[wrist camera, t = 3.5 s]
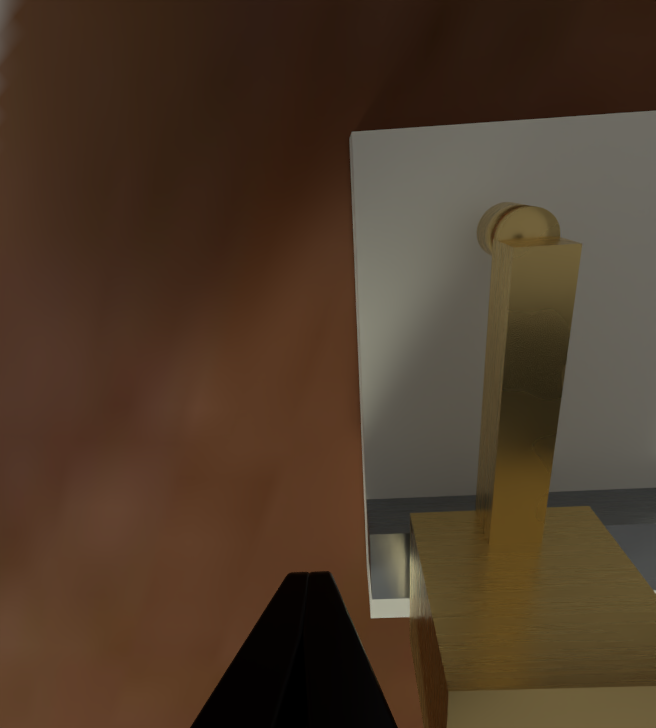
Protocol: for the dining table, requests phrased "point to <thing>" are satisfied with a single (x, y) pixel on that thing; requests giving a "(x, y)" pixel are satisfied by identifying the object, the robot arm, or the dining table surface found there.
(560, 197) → the plate
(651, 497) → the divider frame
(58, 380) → the dining table surface
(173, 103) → the dining table surface
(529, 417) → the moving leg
